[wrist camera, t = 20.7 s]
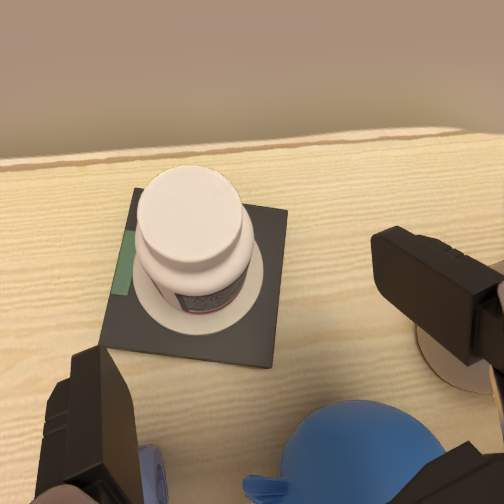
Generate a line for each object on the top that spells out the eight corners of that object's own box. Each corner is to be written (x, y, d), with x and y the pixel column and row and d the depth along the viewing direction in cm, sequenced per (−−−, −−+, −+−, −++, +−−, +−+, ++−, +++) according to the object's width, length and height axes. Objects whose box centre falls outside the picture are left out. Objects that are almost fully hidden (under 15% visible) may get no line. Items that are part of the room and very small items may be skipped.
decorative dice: (89, 457, 23) (64, 474, 19) (160, 439, 23) (149, 452, 20) (97, 537, 22) (72, 571, 18) (171, 516, 22) (162, 545, 19)
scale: (283, 221, 28) (291, 203, 25) (267, 369, 25) (274, 368, 22) (139, 200, 28) (131, 179, 25) (106, 348, 25) (92, 344, 22)
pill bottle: (262, 258, 24) (287, 195, 16) (213, 333, 23) (212, 308, 14) (188, 212, 24) (174, 126, 16) (135, 283, 23) (89, 228, 15)
